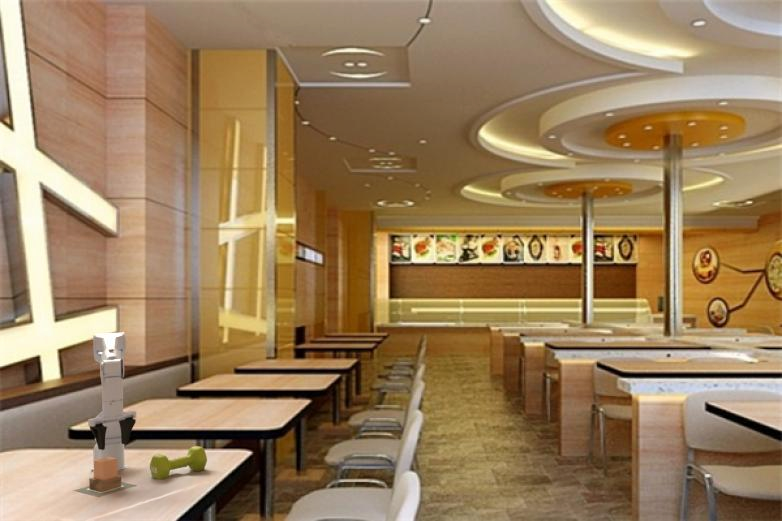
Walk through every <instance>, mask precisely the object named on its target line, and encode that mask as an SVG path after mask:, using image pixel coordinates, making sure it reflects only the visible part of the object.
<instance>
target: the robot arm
mask: <svg viewBox="0 0 782 521" xmlns="http://www.w3.org/2000/svg"><path fill="white" fill-rule="evenodd" d="M92 341H93V342H92V344H93V349H92V350H93V358H94V361H95V362H97V363H99V366H100V367H99V369H100V370H99V377H100V381H101V398H102V399H101V401H102V402H101V403H102V404H101V405H102V407H101V408H102V410H101V411H100V413H99V414H97V415H96V416H95V417H93V418H88V420H87V421H88V424H87V426H88V427H89V429H90V431H91V433H92V435H93V437H94V441H95V442H96V443H95V445H94V446H93V455H92V456H93V460H92V461H93V462H94V460H97V459H101V458H105V457H112V458H117V459H118V471H120V470H123V469H128V468H131V466H129V465H125V445H128V443H129V440H130V435H131V433H132V430H133V428H134V427H135V424H136V422H137V419H136V418H137V411H136V410H129V411H124V381H123V378H124V377H125V362H124V359H125V355H126V345H127V344H126V343H127V342H126V332H124V331H122V332H108V333H97V332H96V333H94V334H93V335H92ZM90 470H91V471H93V472H94V467H92V468H90Z"/></svg>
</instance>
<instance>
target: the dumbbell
mask: <svg viewBox="0 0 782 521" xmlns="http://www.w3.org/2000/svg"><path fill="white" fill-rule="evenodd" d="M207 462H208V456H207V453H206V451H205V448H204V447H202V446H198V445H195V446H192V447H190V448H189V450H188V451H187V454H186V455H185V456H181V457H180V456H179V457H175V458H172V459H169V458H168V457H167V455H165V454H161V453H160V454H155V455H153V456H152V457H151V459H150V463H149V469H150V474H151V477H152V478H153V479H156V480H164V479H167V478H169V476H170V472H171V471H174V470H177V469H181V468H182V469H183V468H185V467H187V466H188V468H189V469H190V470H192V471H193V472H201V471H203V470H204V469H205V468H206V466H207Z"/></svg>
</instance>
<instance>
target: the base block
mask: <svg viewBox="0 0 782 521" xmlns="http://www.w3.org/2000/svg"><path fill="white" fill-rule="evenodd" d="M88 480H89V482H88V483H89V484H88V486H89V489H91V490H95V491H99V492H104V491H108V490H111V489H115V488H118V487H121V482H122V476H121V475H119V474H118V477H114V478H110V479H107V480H99V479H95V478H94V476H93V477H89V479H88Z"/></svg>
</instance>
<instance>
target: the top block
mask: <svg viewBox="0 0 782 521" xmlns="http://www.w3.org/2000/svg"><path fill="white" fill-rule="evenodd" d="M93 468H94V471H93V477H94V478H95V479H99V480H107V479H110V478H114V477H118V475H119V470H118V459H117V458H112V457H105V458H101V459H97V460H94V461H93Z"/></svg>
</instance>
